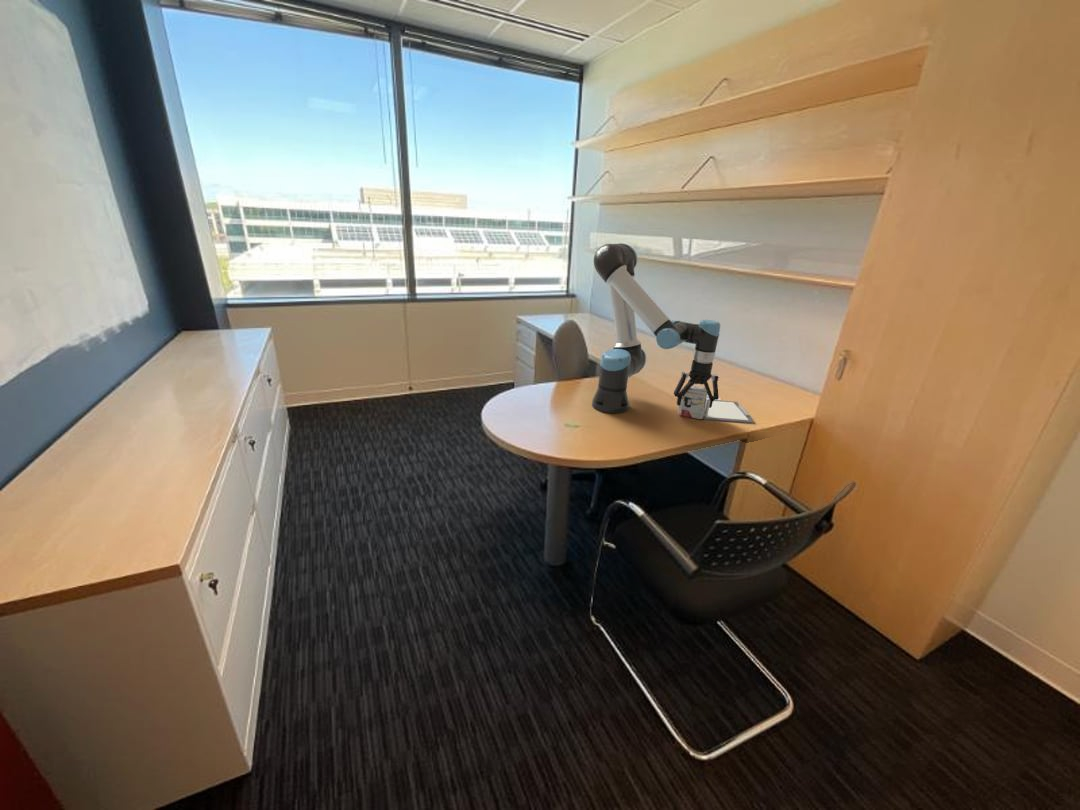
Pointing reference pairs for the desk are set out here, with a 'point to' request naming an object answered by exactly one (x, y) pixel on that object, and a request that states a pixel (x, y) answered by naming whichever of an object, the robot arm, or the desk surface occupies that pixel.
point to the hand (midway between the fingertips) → (692, 413)
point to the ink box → (694, 402)
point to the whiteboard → (728, 412)
